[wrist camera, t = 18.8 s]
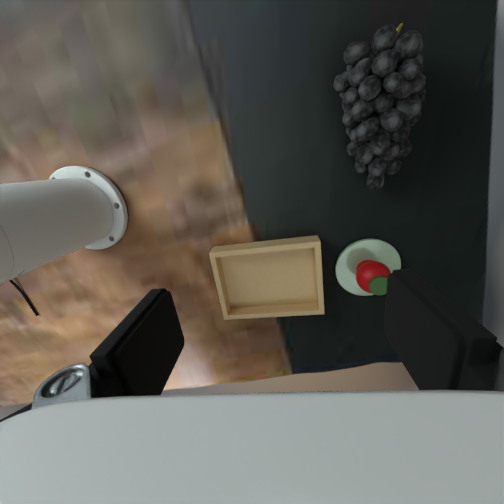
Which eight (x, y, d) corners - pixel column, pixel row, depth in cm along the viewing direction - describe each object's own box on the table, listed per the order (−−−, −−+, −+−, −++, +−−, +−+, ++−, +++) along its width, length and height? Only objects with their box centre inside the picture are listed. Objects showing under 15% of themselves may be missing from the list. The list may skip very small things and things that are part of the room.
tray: (227, 309, 41) (224, 320, 38) (213, 246, 37) (208, 253, 34) (321, 303, 38) (324, 314, 36) (317, 234, 34) (320, 241, 32)
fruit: (423, 197, 22) (448, -15, 17) (331, 202, 26) (327, 29, 21) (411, 183, 30) (426, 30, 24) (340, 188, 33) (339, 57, 28)
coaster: (335, 295, 37) (336, 297, 37) (333, 241, 34) (334, 243, 34) (397, 291, 36) (399, 293, 35) (401, 234, 33) (403, 236, 32)
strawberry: (351, 283, 36) (361, 302, 31) (350, 256, 34) (362, 272, 29) (382, 281, 35) (398, 300, 30) (383, 253, 33) (400, 269, 29)
